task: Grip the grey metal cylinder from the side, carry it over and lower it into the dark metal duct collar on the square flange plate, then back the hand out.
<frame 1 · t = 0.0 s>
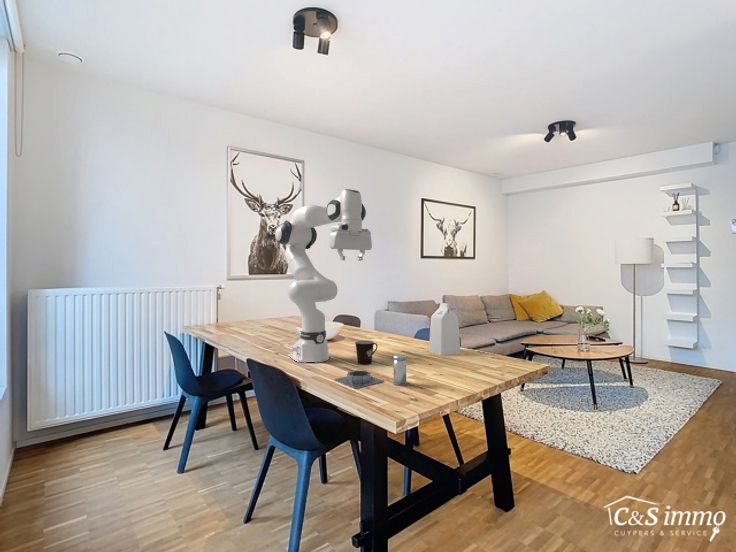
hand: (351, 260, 165), 48 cm above the table, tool pointing down, fingers open, 8 cm apart
milk: (444, 352, 206), on the table
grey metal cylinder: (399, 383, 151), on the table
duct collar: (358, 381, 154), on the table
coffee mug: (367, 363, 183), on the table
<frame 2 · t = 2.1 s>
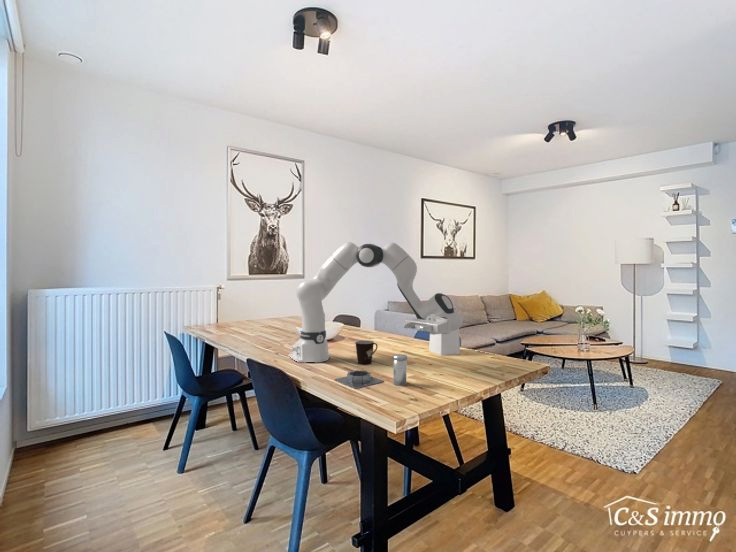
hand: (412, 327, 162), 20 cm above the table, tool horizontal, fingers open, 8 cm apart
nothing on the table moved.
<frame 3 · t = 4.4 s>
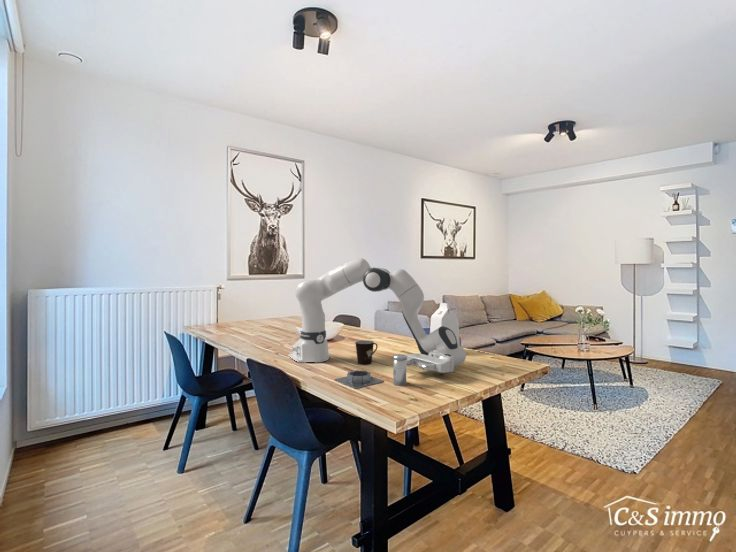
hand: (414, 365, 156), 6 cm above the table, tool horizontal, fingers open, 8 cm apart
nothing on the table moved.
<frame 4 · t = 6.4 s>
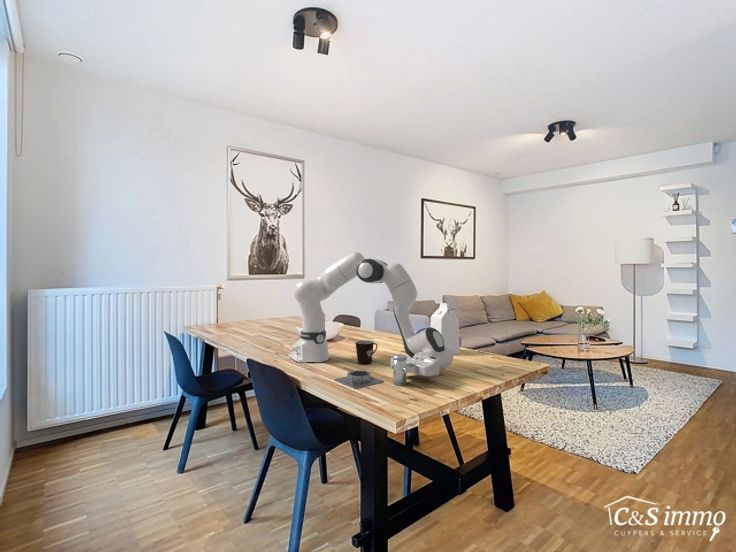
hand: (398, 368, 150), 6 cm above the table, tool horizontal, fingers closed on grey metal cylinder, 5 cm apart
grey metal cylinder: (399, 383, 151), on the table, touching gripper
everything else where it was.
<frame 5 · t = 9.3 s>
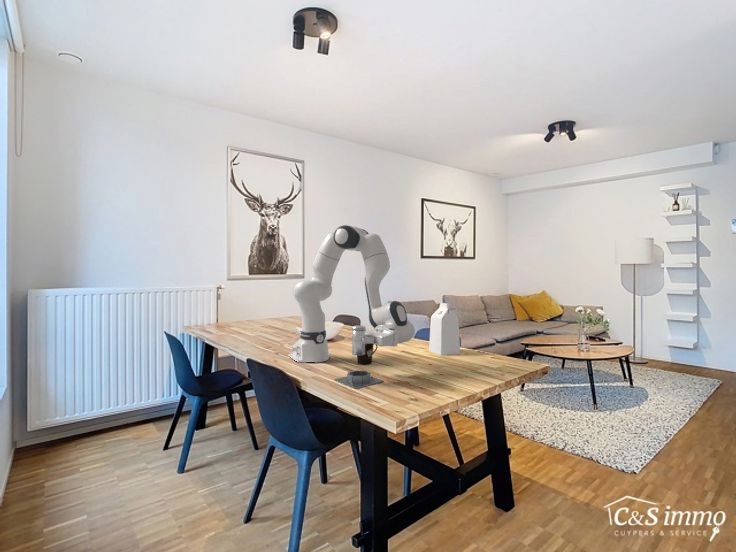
hand: (356, 339, 153), 17 cm above the table, tool horizontal, fingers closed on grey metal cylinder, 5 cm apart
grey metal cylinder: (358, 354, 154), point 11 cm above the table, touching gripper
everything else where it was.
when the fingers open (8 cm above the table, at t = 11.9 s): grey metal cylinder drops 1 cm, resting on duct collar.
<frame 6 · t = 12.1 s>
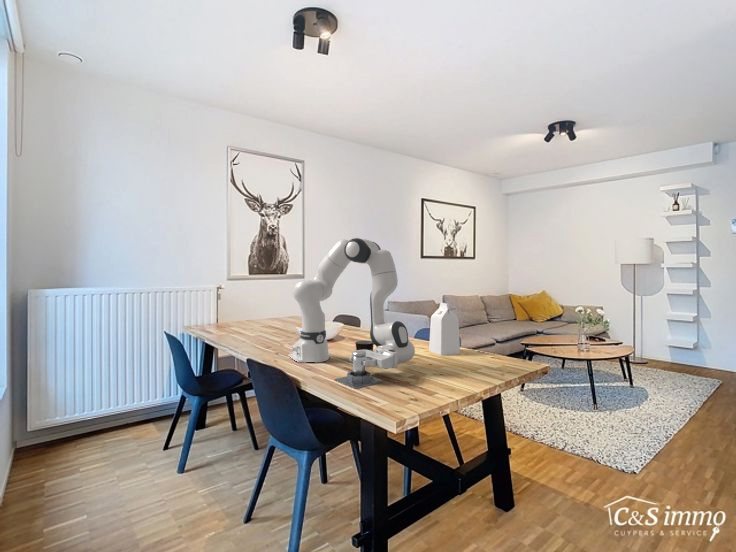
hand: (357, 361, 154), 8 cm above the table, tool horizontal, fingers open, 7 cm apart
grey metal cylinder: (358, 379, 154), point 1 cm above the table, touching duct collar
everything else where it was.
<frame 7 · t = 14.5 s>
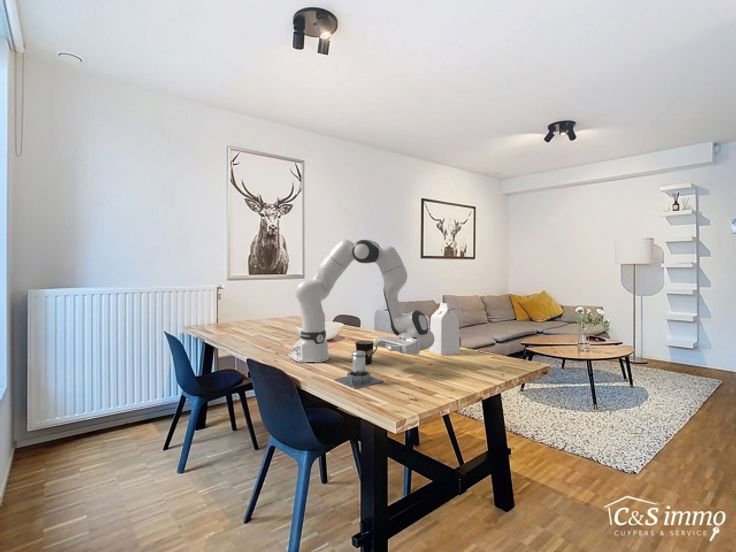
hand: (381, 346, 163), 12 cm above the table, tool horizontal, fingers open, 8 cm apart
nothing on the table moved.
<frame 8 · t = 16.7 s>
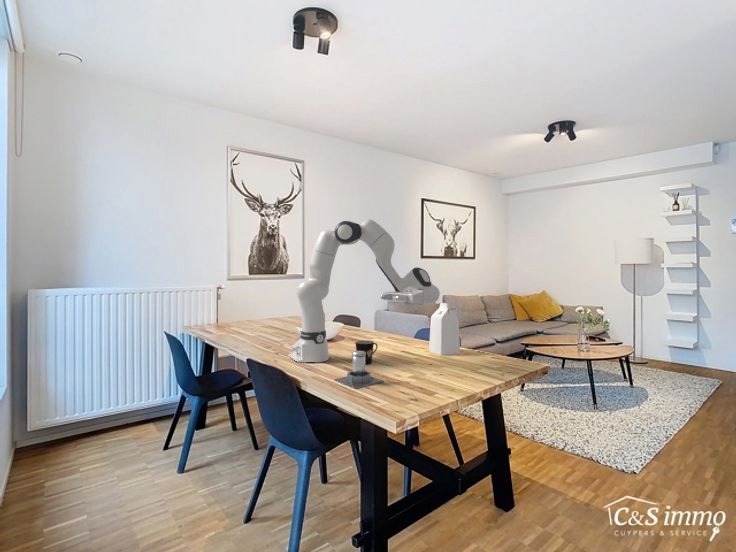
hand: (389, 297, 167), 32 cm above the table, tool horizontal, fingers open, 8 cm apart
nothing on the table moved.
at the end: grey metal cylinder 0.0 cm from the duct collar (horizontally); grey metal cylinder point 0.5 cm above the table; grey metal cylinder tilted 0° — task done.
